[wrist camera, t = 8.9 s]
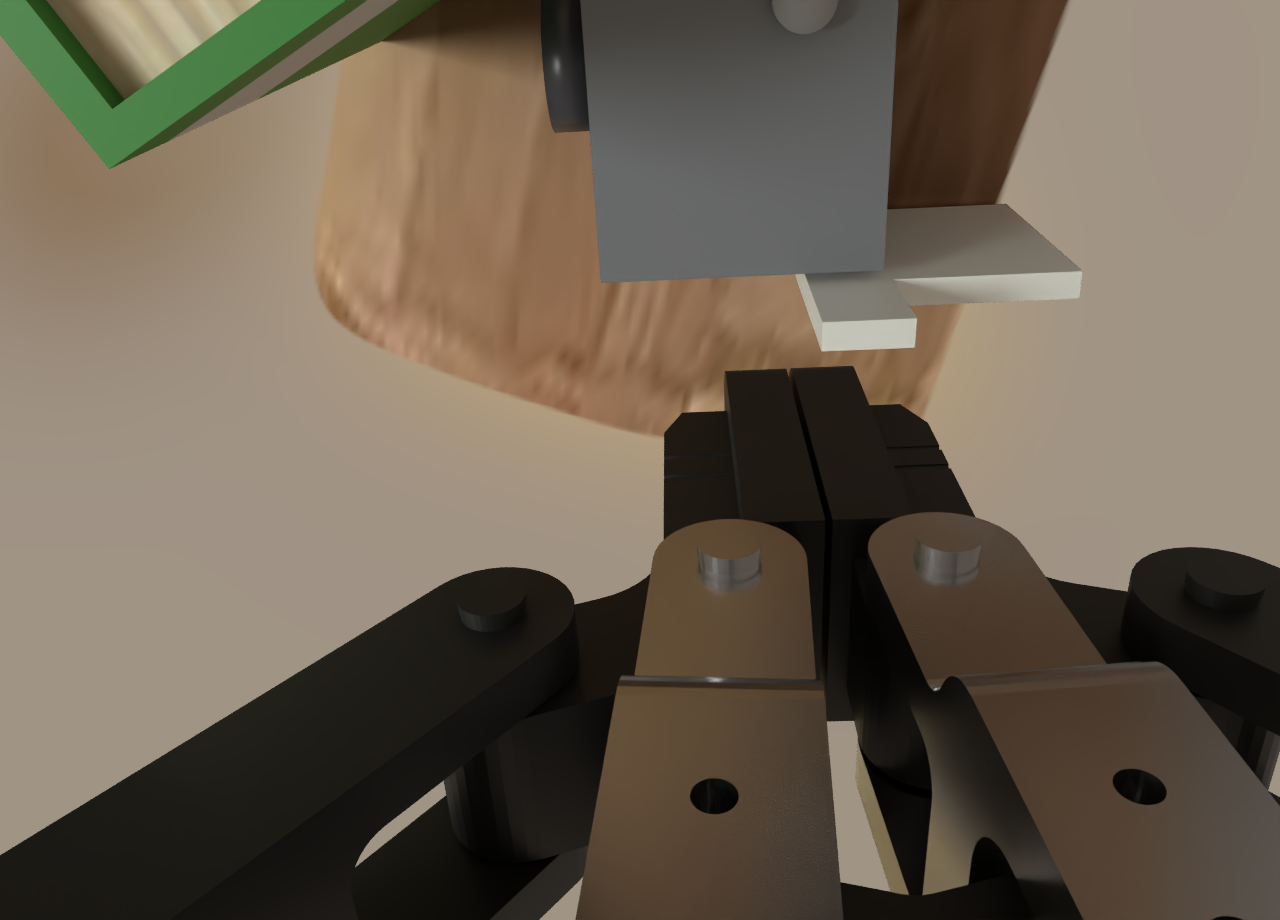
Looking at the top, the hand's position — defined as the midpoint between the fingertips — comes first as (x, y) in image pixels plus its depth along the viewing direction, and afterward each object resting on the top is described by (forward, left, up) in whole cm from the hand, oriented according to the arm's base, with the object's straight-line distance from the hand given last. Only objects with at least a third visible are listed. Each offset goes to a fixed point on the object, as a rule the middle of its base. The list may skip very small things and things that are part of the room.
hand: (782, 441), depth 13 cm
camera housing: (0, +1, -35) cm, 35 cm away
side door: (+7, +8, -35) cm, 36 cm away
